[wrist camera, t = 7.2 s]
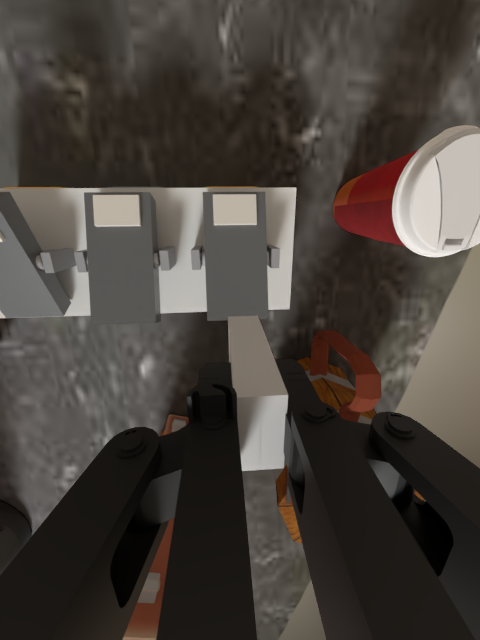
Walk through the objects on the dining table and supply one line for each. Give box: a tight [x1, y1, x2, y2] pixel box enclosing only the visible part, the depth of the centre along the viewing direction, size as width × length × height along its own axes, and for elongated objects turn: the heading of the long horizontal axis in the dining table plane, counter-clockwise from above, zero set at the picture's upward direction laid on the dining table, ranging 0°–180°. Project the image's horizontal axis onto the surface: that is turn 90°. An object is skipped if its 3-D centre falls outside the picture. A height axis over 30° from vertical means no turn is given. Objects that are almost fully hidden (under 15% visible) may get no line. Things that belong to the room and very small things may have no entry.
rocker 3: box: [202, 192, 269, 321], centre depth 20 cm, size 5×9×2 cm, turn 0°
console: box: [0, 187, 296, 318], centre depth 24 cm, size 26×10×11 cm, turn 90°
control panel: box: [123, 414, 189, 640], centre depth 30 cm, size 21×7×15 cm
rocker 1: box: [0, 192, 71, 318], centre depth 19 cm, size 5×9×2 cm, turn 0°
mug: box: [273, 330, 424, 543], centre depth 30 cm, size 20×14×15 cm
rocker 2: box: [84, 192, 161, 325], centre depth 19 cm, size 5×9×2 cm, turn 0°
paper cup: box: [333, 125, 480, 257], centre depth 23 cm, size 8×8×14 cm
